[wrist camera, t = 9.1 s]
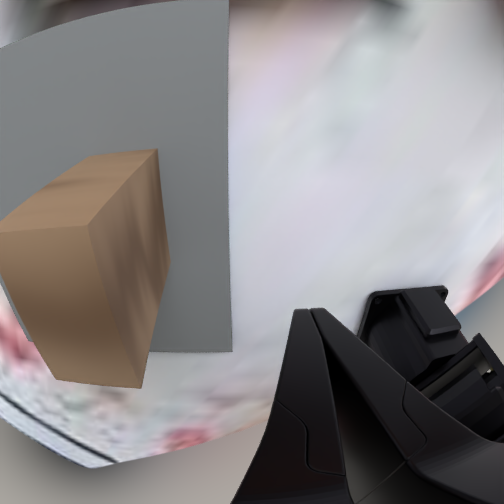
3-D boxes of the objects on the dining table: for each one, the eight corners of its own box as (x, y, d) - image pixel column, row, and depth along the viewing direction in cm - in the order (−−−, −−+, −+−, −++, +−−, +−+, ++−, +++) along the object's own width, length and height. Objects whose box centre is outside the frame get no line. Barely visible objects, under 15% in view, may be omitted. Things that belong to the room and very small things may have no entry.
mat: (232, 345, 21) (232, 351, 20) (31, 335, 19) (28, 341, 19) (228, 1, 10) (228, -2, 10) (-38, 70, 9) (-44, 71, 9)
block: (170, 261, 16) (141, 388, 9) (107, 263, 16) (53, 379, 9) (157, 148, 13) (86, 225, 6) (86, 156, 13) (-18, 234, 6)
